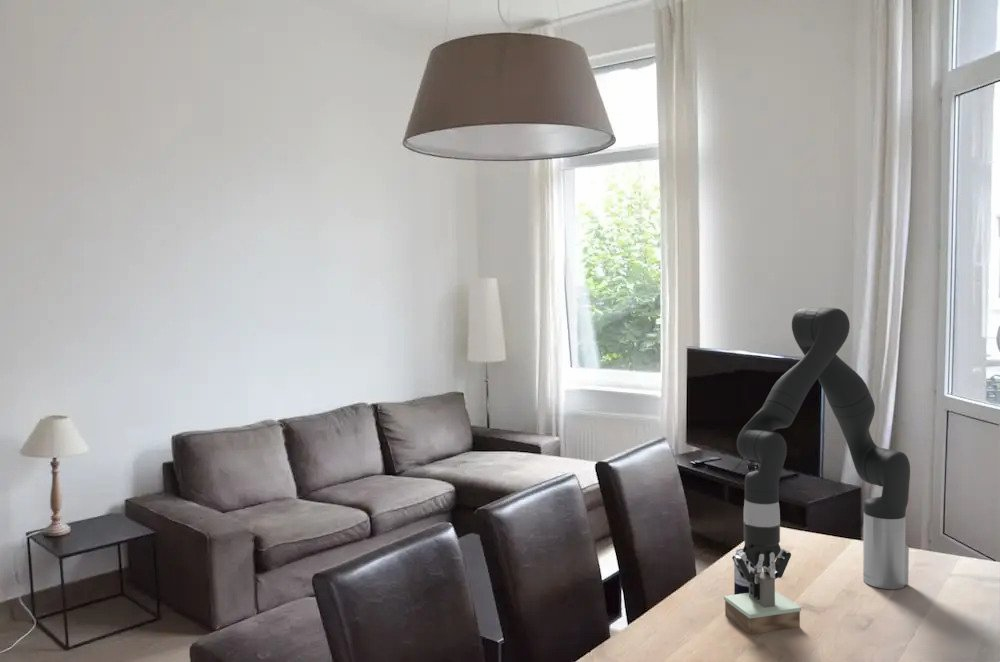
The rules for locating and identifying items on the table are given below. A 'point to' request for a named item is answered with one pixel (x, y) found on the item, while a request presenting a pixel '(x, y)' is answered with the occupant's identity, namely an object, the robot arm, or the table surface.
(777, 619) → the box
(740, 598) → the lid
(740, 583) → the beverage can
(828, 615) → the table surface
